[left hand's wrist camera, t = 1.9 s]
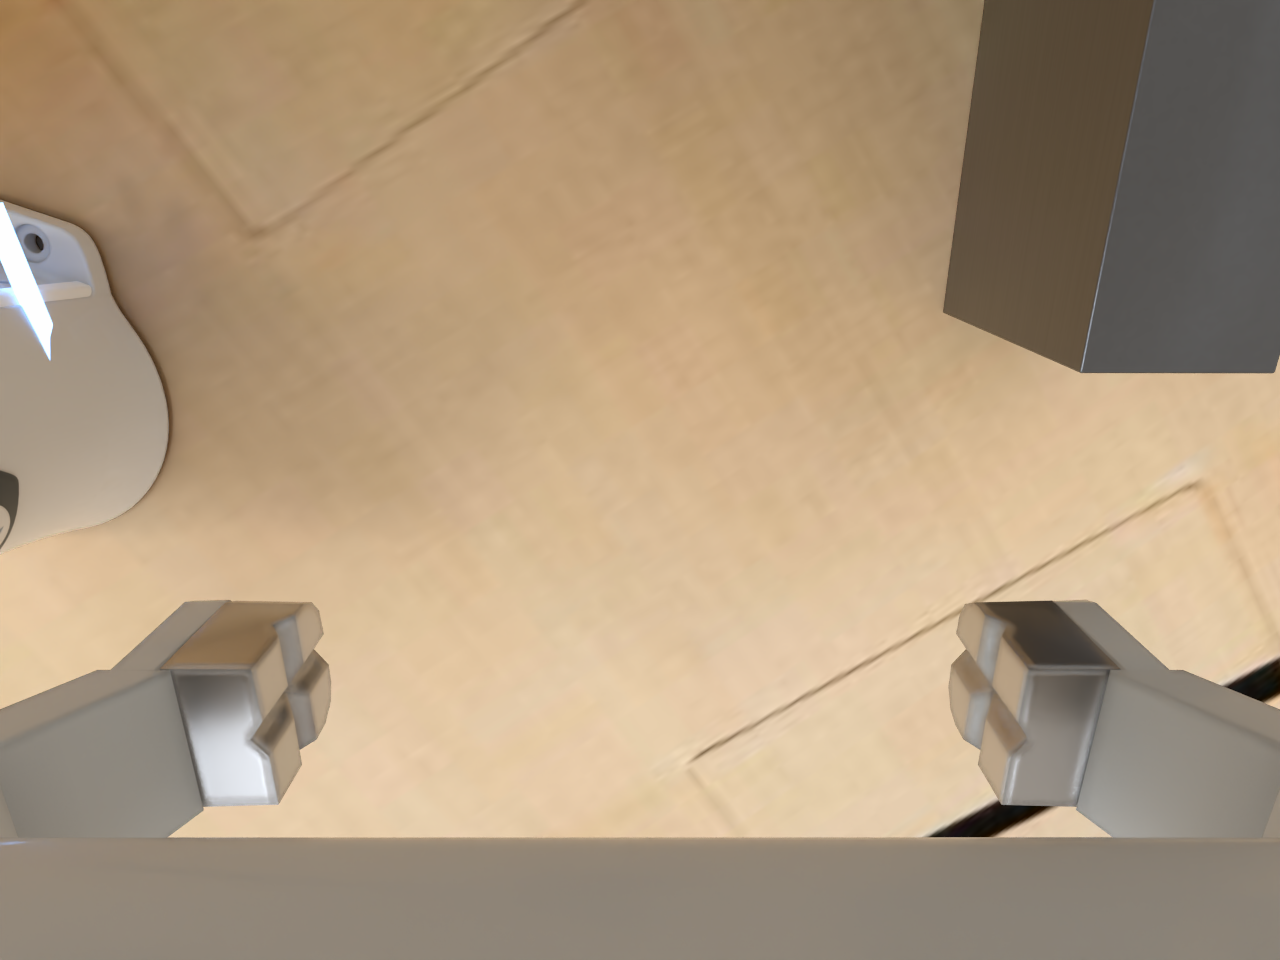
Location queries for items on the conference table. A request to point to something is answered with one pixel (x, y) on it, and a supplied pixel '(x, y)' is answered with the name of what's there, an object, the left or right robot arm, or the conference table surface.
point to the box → (1124, 185)
